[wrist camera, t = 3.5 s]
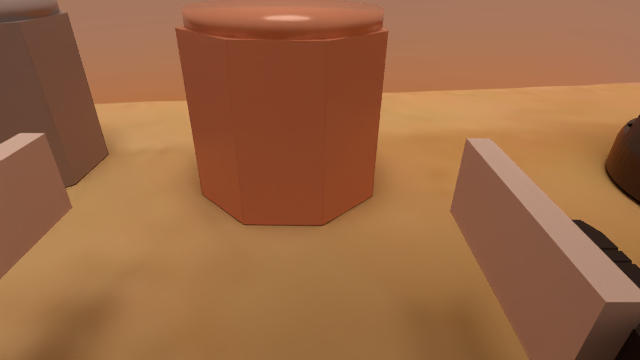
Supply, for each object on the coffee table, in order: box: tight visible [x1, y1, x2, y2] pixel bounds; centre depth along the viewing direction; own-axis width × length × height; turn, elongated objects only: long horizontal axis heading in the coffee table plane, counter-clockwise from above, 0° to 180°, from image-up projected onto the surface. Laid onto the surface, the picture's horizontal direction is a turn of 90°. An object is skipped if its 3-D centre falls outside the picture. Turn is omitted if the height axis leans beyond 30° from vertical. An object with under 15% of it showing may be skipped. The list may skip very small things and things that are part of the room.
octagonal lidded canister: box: [175, 0, 388, 225], centre depth 22 cm, size 10×10×10 cm
